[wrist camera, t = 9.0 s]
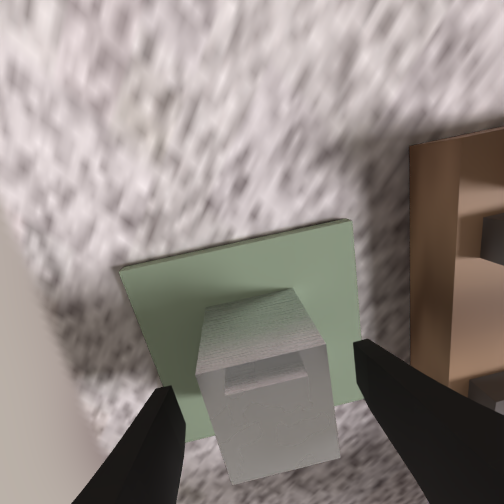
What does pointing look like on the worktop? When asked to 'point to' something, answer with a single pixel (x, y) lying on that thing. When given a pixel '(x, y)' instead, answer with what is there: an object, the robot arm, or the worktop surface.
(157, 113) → the worktop surface
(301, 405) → the lever cap
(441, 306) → the plane body
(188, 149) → the worktop surface
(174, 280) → the rubber mat
